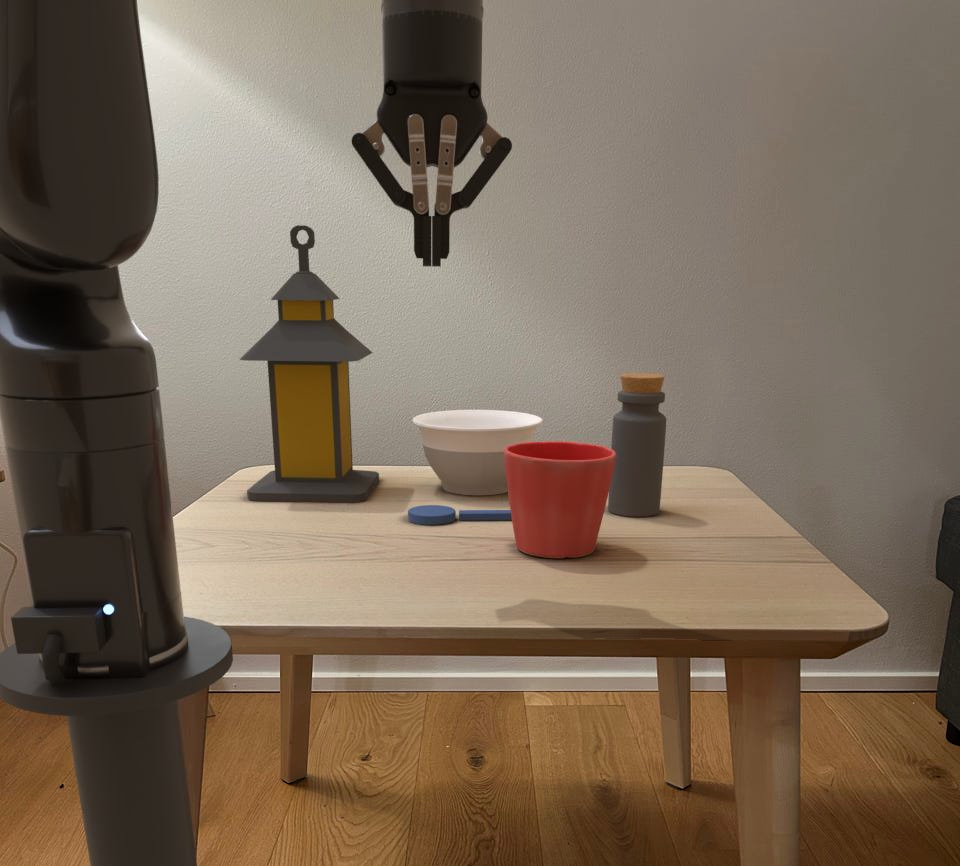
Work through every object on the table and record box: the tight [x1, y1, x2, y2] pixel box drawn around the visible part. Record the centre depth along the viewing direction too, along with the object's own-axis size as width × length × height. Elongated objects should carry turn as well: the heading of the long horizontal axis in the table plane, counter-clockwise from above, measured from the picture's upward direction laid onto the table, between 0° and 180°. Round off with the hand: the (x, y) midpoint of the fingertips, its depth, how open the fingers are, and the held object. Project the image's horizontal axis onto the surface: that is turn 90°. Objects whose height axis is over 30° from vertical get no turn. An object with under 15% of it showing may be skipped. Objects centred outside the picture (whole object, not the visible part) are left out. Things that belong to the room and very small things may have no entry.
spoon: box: [407, 504, 512, 526], centre depth 106 cm, size 18×5×1 cm, turn 94°
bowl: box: [411, 409, 544, 496], centre depth 120 cm, size 16×16×9 cm
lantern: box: [239, 224, 380, 503], centre depth 115 cm, size 14×14×30 cm
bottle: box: [607, 372, 667, 518], centre depth 108 cm, size 6×6×15 cm
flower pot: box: [504, 440, 616, 559], centre depth 94 cm, size 11×11×10 cm
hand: (432, 266), depth 79 cm, fingers closed
